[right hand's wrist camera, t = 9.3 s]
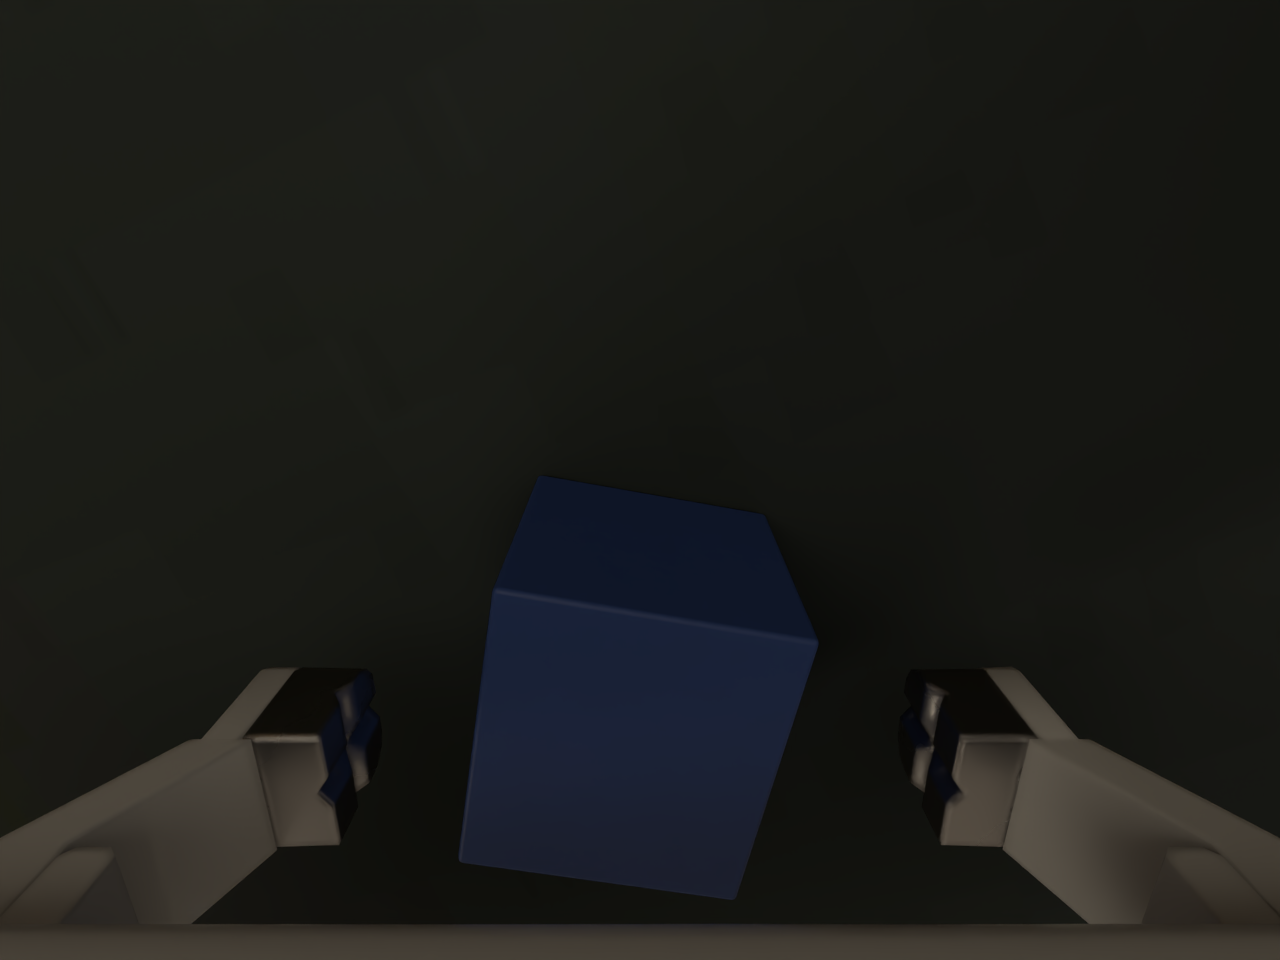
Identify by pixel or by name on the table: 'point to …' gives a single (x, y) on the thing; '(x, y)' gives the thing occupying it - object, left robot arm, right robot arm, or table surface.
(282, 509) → the table surface
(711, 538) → the block
